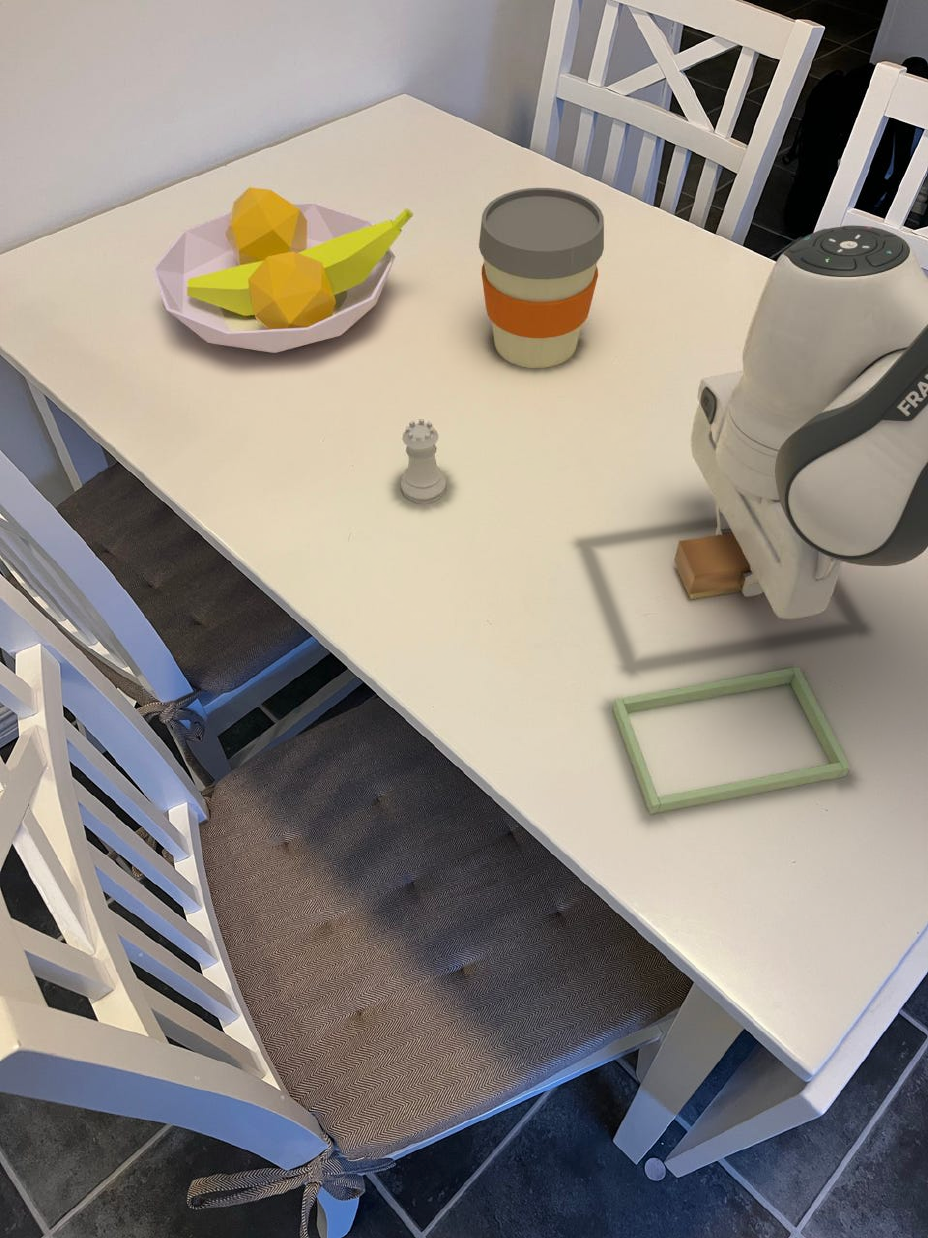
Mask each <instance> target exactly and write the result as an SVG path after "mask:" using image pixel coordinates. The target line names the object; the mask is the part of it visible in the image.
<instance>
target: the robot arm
mask: <svg viewBox="0 0 928 1238" xmlns="http://www.w3.org/2000/svg"><path fill="white" fill-rule="evenodd" d="M753 312H754V313H753V316H752V318H751V321H750V325H749V328H748V330H747V335H746V338H745V341H744V345H743V348H742V355H741V357H742V360H741V362H742V370H740V371H733V372H727V373H722V374H716V375H711V376H708V377H703V378H702V379H700V381H699V385H698V390H697V401H698V404H697V407H696V410H695V414H694V418H693V423H692V427H691V434H690V448H691V454H692V458H693V460H694V462H695V463H696V466H697V467H698V469H699V471H700V473H701V475H702V477H703V479H704V480H705V482H706V484H707V486H708V489H709V490H710V493H711V494H712V495H713V498H714V500H715V512H716V524H717V525H716V526H717V527H716V529H715V534H714V536H715V535H721V534H728V533H733V534H734V536H735V538H736V540H737V542H738V544H739V545H740V547H741V549H742V551H743V553H744V555H745V557H746V559H747V561H748V563H749V565H750V566H751V567H750V569H751V570H747V571H742V572H741V575H740V579H739V580H738V584H739V586H740V588H741V590H742V591H741V592H742V593H743V596H744V597H747V598H748V597H753V596H759V595H761V594H762V593H764V595H765V597H766V599H767V601H768V603H769V604H770V607H771V608H772V610H773V612H774V614H775V615H776V617H777V618H779V619H783V620H793V619H802V618H807V617H808V618H809V617H812V616H817V615H819V614H822V613H823V612H824V611H825V610H827V608H828V607H829V603H830V601H831V598H832V596H833V594H834V591H835V588H836V585H837V582H838V578H839V575H840V571H841V567H842V564H843V562H844V563H847V564H853V565H857V566H858V565H859V566H868V567H892V566H893V567H894V566H898V565H899V566H900V565H902V564H907V563H908V562H910V561H912V560H915V559H916V558H918V557H919V556H920V555H922V554H923V553H924V552H925V551H926V550H927V549H928V277H927V275H926V274H925V272H924V270H923V268H922V267H921V264H920V262H919V259H918V257H917V255H916V252H915V250H914V248H913V247H912V246H911V244H909V242H908V241H906V240H905V239H904V238H902V237H901V236H899V235H897V234H895V233H893V232H890V231H888V230H886V229H882V228H879V227H875V226H867V225H841V226H836V227H835V226H834V227H829V228H822V229H819V230H817V231H815V232H813V233H810V234H808V235H806V236H804V237H802V238H801V239H799V240H798V241H796V242H794V243H793V244H791V245H790V246H788V248H786V249H785V250H784V251H783V252H782V254H780V255H779V257H778V258H777V260H776V262H775V263H774V265H773V267H772V269H771V271H770V273H769V275H768V277H767V278H766V282H765V284H764V286H763V289H762V291H761V293H760V296H759V299H758V301H757V304H756V306H755V310H754V311H753Z"/></svg>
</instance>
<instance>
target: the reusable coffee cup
mask: <svg viewBox="0 0 928 1238" xmlns="http://www.w3.org/2000/svg"><path fill="white" fill-rule="evenodd" d="M478 241H479V242H478V249H479V252H480V254H481V256H482V258H483V264H482V265H481V280H482V286H483V288H482V289H483V294H484V303H485V310H486V313H487V316H488V318H489V320H490V321H491V326H492V335H493V341H494V346H495V349H496V351H497V353H498V355H500V357H502V359H504V360H505V361H507V362H508V363H511V364H512V365H515V366H519V367H522V368H528V369H546V368H551V367H556V366H558V365H561V364H563V363H564V362H566V361H568V360H570V358H571V357H572V356H573V355H574V354H575V352H576V349H577V345H578V342H579V337H580V334H581V330H582V326H583V324H584V323H585V322H586V320H587V318H588V317H589V313H590V309H591V305H592V302H593V298H594V294H595V289H596V286H597V281H598V278H599V268H598V266H597V265H598V262H599V260H600V259H601V257H602V256H603V252H604V249H605V219H604V214H603V212H602V209H600V208H599V206H598V205H597V204H596V203H595V202H594V201H592V200H591V199H590V198H587V197H586V196H583V195H582V194H579V193H576V192H574V191H570V190H566V189H562V188H553V187H528V188H522V189H517V190H513V191H510V192H506V193H503V194H502V195H499V196H497V197H496V198H495V199H493V200H492V201H490V202H489V203H488V204H487V205H486V206H485V208H484V210H483V212H482V215H481V222H480V232H479V240H478Z"/></svg>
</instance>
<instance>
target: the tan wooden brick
mask: <svg viewBox="0 0 928 1238" xmlns="http://www.w3.org/2000/svg"><path fill="white" fill-rule="evenodd" d="M674 564H675V565H676V567H677V572H678V575H679V577H680V579H681V582H682V584H683V586H684V588H685V590H686V593H687V595H688V598H689V599H690V600H695V599H701V598H707V597H714V596H719V595H727V594H732V593H739V592H742V590H741V588H740V586H739V584H738V580H739V579H740V575H741V572H742V571H747V570H751V569H750V567H751V566H750V565H749V563H748V561H747V559H746V557H745V555H744V553H743V551H742V549H741V547H740V545H739V544H738V542H737V540H736V538H735V536H734V534H733V533H728V534H721V535H715V534H714V535H708V536H703V537H696V538H690V539H684V540H679V541H678V544H677V548H676V552H675V556H674Z"/></svg>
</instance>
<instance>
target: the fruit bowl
mask: <svg viewBox="0 0 928 1238" xmlns="http://www.w3.org/2000/svg"><path fill="white" fill-rule="evenodd" d="M413 216H414V213H413V212H412V211H411V210H410V209H409V208H406V207H405V208H404V209H403V211H402V212H400V214H399V215H398V216H396V218H395V219H394V220H392V219H389V220H385V221H382V222H379V223H376V224H374V223H373V221H372V220H369V219H367V218H363V217H360V216H357V215H354V214H351V213H347V212H345V211H342V210H338V209H335V208H334V207H333V208H332V207H330V206H326V205H323V204H321V203H317V202H302V203H301V202H300V203H291V202H290V201H288V200H286V199H285V198H284V197H283V196H281V195H279V194H278V193H277V192H275V191H273V190H272V189H268V188H258V187H250V186H249V187H248V188H247V189H246V190H245V191H243V193H242V194H240V195H239V196H238V198H236V199H235V200H234V201H233V203H232V207H231V210H230V212H226V213H224V214H222V215H220V216H217V217H215V218H212V219H209V220H207V221H204V222H202V223H198V224H196V225H194V226H191V227H189V228H187V229H184V230H182V232H181V233H180V234H179V236H178V237H177V238H176V239H175V241H174V242H173V243H172V244H171V246H170V247H169V248H168V249H167V251H166V252H165V253H164V254H163V255H162V257H161V258H160V259H159V261H158V262H157V263H156V264H155V265H154V267H153V268H152V269H151V270H152V271H151V272H152V273H153V277H154V279H155V282H156V284H157V288H158V290H159V293H160V297H161V298H162V300H163V304H164V307H165V310H166V311H167V312H169V313H170V314H171V315H172V316H173V317H175V318H176V319H177V320H178V321H180V322H181V323H183V324H184V325H185V326H186V327H187V328H189V329H190V330H191V331H192V332H194V333H195V334H196V335H197V336H198V337H200V338H202V339H203V340H204V341H205V342H206V343H208V344H213V345H221V346H226V347H227V346H228V347H232V348H240V349H247V350H253V351H259V352H266V353H272V354H276V353H277V354H278V353H280V352H284V351H287V350H293V349H295V348H299V347H303V346H306V345H310V344H315V343H318V342H321V341H325V340H329V339H333V338H337V337H339V336H340V337H341V336H342V335H343V334H344V333H345V332H347V331H348V330H349V329H350V328H351V327H352V326H354V324H356V323H357V322H358V321H359V320H360V319H361V318H362V317H364V316H365V315H366V314H368V312H369V311H371V310H372V309H373V308H374V307H375V306H376V305H377V303H378V301H379V298H380V296H381V293H382V290H383V288H384V286H385V284H386V282H387V278H388V276H389V274H390V272H391V269H392V267H393V264H394V261H395V259H396V255H395V254H394V252H393V251H392V250H391V247H392V245H393V244H394V243H395V241H396V240H397V239H398V237H399V236H400V235H401V234H402V233H401V232H402V231H403V230H402V228H403V227H404V226H405V225H406V224H407V223H408V221H410V219H412V217H413ZM345 291H346V297H345V299H344V301H343V302H342V305H341V306H340V308H339V309H338V311H337V313H335V314H334V310H335V307H336V304H337V301H336V298H335V296H336V295H339V294H341V293H342V292H343V293H344V292H345ZM222 309H224V310H226V311H230V312H232V313H235V314H238V315H241V316H243V317H249V316H254V317H255V320H256V321H257V322H258V323H259V324H260V325H262V326H263V327H264V328H265V329H256V330H255V329H253V330H236V331H231V330H230V328H229V325H228V323H227V320H226V318H225V315H224V313H223V311H222Z"/></svg>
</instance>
